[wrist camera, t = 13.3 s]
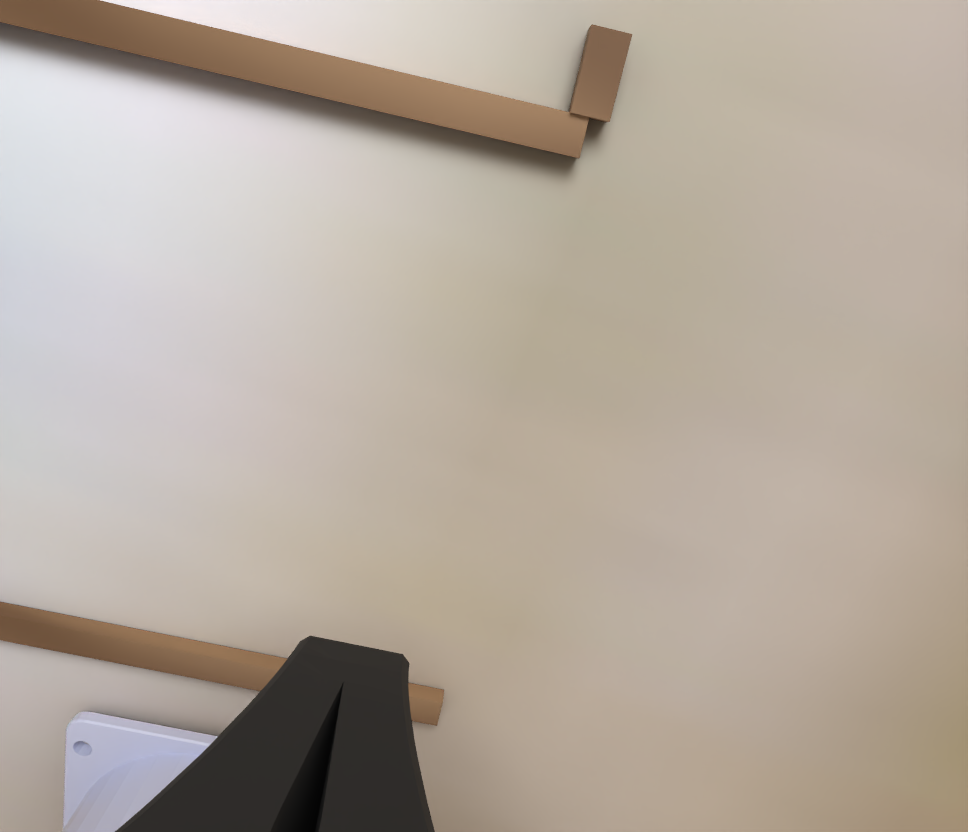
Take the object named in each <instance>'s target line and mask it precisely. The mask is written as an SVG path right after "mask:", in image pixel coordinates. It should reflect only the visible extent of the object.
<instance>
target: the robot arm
mask: <svg viewBox="0 0 968 832" xmlns="http://www.w3.org/2000/svg"><path fill="white" fill-rule="evenodd" d="M408 671H409V662H408V661H407V660H406V658H405V657H404V655H403V654H399V653H394V652H389V651H384V650H379V649H374V648H369V647H364V646H359V645H354V644H349V643H344V642H339V641H334V640H329V639H324V638H319V637H314V636H309V637H307V638H305V639H304V640H302V641H300V642H299V644H298V645H297V647H296V648H295V650H294V651H293V652H292V654H291V655H290V656H289V658H288V659H287V660H286V662H285V663H284V664H283V665H282V667H281V668H280V669H279V670H278V672H277V673H276V674H275V675H274V676H273V678H272V679H271V680H270V681H269V682H268V683H267V685H266V686H265V687H264V688H263V689H262V690H261V691H260V692H259V694H258V695H257V696H256V697H255V698H254V699H253V700H252V702H251V703H250V704H249V705H248V706H247V707H246V708H245V709H244V710H243V711H242V712H241V713H240V714H239V715H238V716H237V717H236V718H235V720H234V721H233V722H232V723H231V724H230V725H229V726H228V727H227V728H226V729H225V730H224V731H223V732H222V733H221V734H220V735H219V736H213V735H208V734H203V733H198V732H193V731H187V730H182V729H177V728H172V727H167V726H162V725H156V724H151V723H146V722H141V721H136V720H130V719H125V718H120V717H115V716H110V715H104V714H99V713H94V712H80V713H77V714H76V715H75V716H74V717H73V718H72V720H71V721H70V722H69V724H68V725H67V728H66V746H65V779H64V812H63V831H62V832H435V831H434V827H433V824H432V820H431V816H430V812H429V808H428V804H427V800H426V795H425V790H424V785H423V781H422V776H421V771H420V767H419V762H418V757H417V752H416V746H415V740H414V734H413V727H412V719H411V712H410V702H409V687H408ZM83 741H84V742H86V743H88V744H89V745H88V744H86V743H84V742H83Z"/></svg>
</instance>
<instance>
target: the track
mask: <svg viewBox="0 0 968 832" xmlns="http://www.w3.org/2000/svg"><path fill="white" fill-rule="evenodd" d="M0 22H2V23H6V24H10V25H15V26H19V27H23V28H27V29H32V30H36V31H40V32H44V33H49V34H53V35H57V36H61V37H66V38H70V39H74V40H78V41H83V42H87V43H91V44H95V45H100V46H104V47H108V48H112V49H117V50H121V51H125V52H129V53H134V54H138V55H142V56H146V57H151V58H155V59H159V60H163V61H168V62H172V63H176V64H180V65H185V66H189V67H193V68H197V69H202V70H206V71H210V72H214V73H219V74H223V75H227V76H231V77H236V78H240V79H244V80H248V81H253V82H257V83H261V84H265V85H270V86H274V87H278V88H282V89H287V90H291V91H295V92H299V93H304V94H308V95H312V96H316V97H321V98H325V99H329V100H333V101H338V102H342V103H346V104H350V105H355V106H359V107H363V108H367V109H371V110H376V111H380V112H384V113H388V114H393V115H397V116H401V117H405V118H410V119H414V120H418V121H422V122H427V123H431V124H435V125H439V126H444V127H448V128H452V129H456V130H461V131H465V132H469V133H473V134H478V135H482V136H486V137H490V138H495V139H499V140H503V141H507V142H512V143H516V144H520V145H524V146H529V147H533V148H537V149H541V150H546V151H550V152H554V153H558V154H563V155H567V156H571V157H575V158H579V157H580V153H581V149H582V145H583V141H584V137H585V133H586V129H587V125H588V121H589V118H590V119H594V120H598V121H603V122H610V118H611V114H612V110H613V106H614V102H615V99H616V95H617V91H618V87H619V83H620V79H621V76H622V72H623V68H624V64H625V60H626V56H627V52H628V49H629V45H630V41H631V37H632V34H629V33H625V32H621V31H617V30H613V29H609V28H604V27H600V26H596V25H591V26H590V28H589V29H588V34H587V38H586V42H585V46H584V50H583V54H582V58H581V63H580V67H579V71H578V75H577V79H576V83H575V87H574V92H573V96H572V100H571V104H570V108H569V112H566V111H562V110H557V109H553V108H549V107H545V106H541V105H536V104H532V103H528V102H524V101H520V100H515V99H511V98H507V97H503V96H499V95H494V94H490V93H486V92H482V91H478V90H473V89H469V88H465V87H461V86H457V85H452V84H448V83H444V82H440V81H436V80H431V79H427V78H423V77H419V76H415V75H410V74H406V73H402V72H398V71H394V70H389V69H385V68H381V67H377V66H373V65H368V64H364V63H360V62H356V61H352V60H347V59H343V58H339V57H335V56H331V55H326V54H322V53H318V52H314V51H310V50H305V49H301V48H297V47H293V46H289V45H284V44H280V43H276V42H272V41H268V40H263V39H259V38H255V37H251V36H247V35H242V34H238V33H234V32H230V31H226V30H222V29H217V28H213V27H209V26H205V25H201V24H196V23H192V22H188V21H184V20H180V19H175V18H171V17H167V16H163V15H159V14H154V13H150V12H146V11H142V10H138V9H133V8H129V7H125V6H121V5H117V4H112V3H108V2H104V1H100V0H0ZM0 640H3V641H8V642H13V643H18V644H23V645H28V646H33V647H38V648H43V649H48V650H53V651H59V652H64V653H69V654H74V655H79V656H84V657H89V658H94V659H99V660H104V661H110V662H115V663H120V664H125V665H130V666H135V667H140V668H145V669H150V670H155V671H161V672H166V673H171V674H176V675H181V676H186V677H191V678H196V679H201V680H206V681H212V682H217V683H222V684H227V685H232V686H237V687H242V688H247V689H252V690H257V691H261V690H262V689H263V688H264V687H265V686H266V685H267V683H268V682H269V681H270V680H271V679H272V678H273V676H274V675H275V674H276V673H277V672H278V670H279V669H280V668H281V667H282V665H283V664H284V663H285V662H286V660H287V659H286V658H281V657H276V656H270V655H265V654H260V653H255V652H250V651H245V650H240V649H235V648H230V647H225V646H220V645H215V644H210V643H205V642H200V641H195V640H190V639H185V638H180V637H175V636H170V635H165V634H160V633H155V632H150V631H145V630H140V629H135V628H129V627H124V626H119V625H114V624H109V623H104V622H99V621H94V620H89V619H84V618H79V617H74V616H69V615H64V614H59V613H54V612H49V611H44V610H39V609H34V608H29V607H24V606H19V605H14V604H9V603H4V602H0ZM408 687H409V702H410V712H411V719H412V721H415V722H421V723H426V724H431V725H436V726H437V723H438V719H439V715H440V711H441V707H442V703H443V695H444V690H442V689H437V688H432V687H427V686H422V685H417V684H411V683H408Z"/></svg>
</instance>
